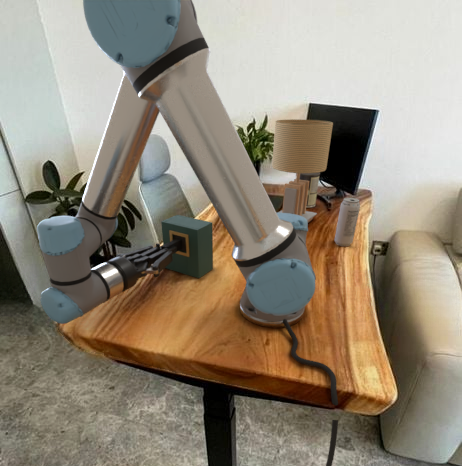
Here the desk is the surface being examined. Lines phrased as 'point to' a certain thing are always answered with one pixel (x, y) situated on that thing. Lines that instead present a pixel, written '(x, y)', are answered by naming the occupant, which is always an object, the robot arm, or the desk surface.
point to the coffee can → (311, 187)
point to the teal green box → (190, 245)
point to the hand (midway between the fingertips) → (179, 243)
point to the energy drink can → (347, 221)
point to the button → (182, 241)
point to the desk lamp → (300, 158)
